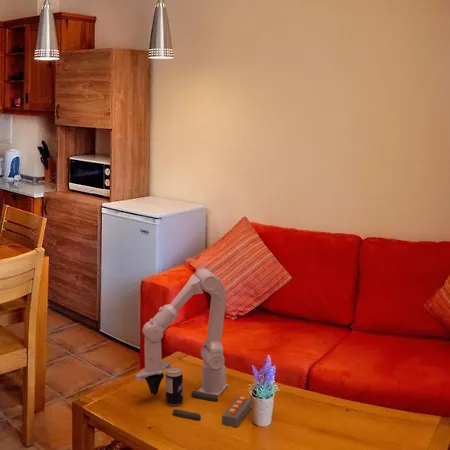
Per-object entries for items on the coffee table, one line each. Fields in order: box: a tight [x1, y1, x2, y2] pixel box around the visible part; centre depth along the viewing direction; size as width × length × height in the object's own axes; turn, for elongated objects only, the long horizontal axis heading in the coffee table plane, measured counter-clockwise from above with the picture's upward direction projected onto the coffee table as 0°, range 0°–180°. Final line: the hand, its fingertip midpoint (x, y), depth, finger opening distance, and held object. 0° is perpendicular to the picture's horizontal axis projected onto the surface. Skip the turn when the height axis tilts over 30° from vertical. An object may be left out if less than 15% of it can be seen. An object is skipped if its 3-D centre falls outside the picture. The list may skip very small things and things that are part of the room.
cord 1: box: [172, 408, 202, 421], centre depth 200 cm, size 2×10×2 cm, turn 68°
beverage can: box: [165, 366, 184, 407], centre depth 209 cm, size 6×6×12 cm
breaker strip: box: [221, 396, 251, 428], centre depth 201 cm, size 14×5×4 cm, turn 157°
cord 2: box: [190, 390, 219, 402], centre depth 213 cm, size 2×10×2 cm, turn 67°
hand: (154, 393), depth 212 cm, fingers closed
